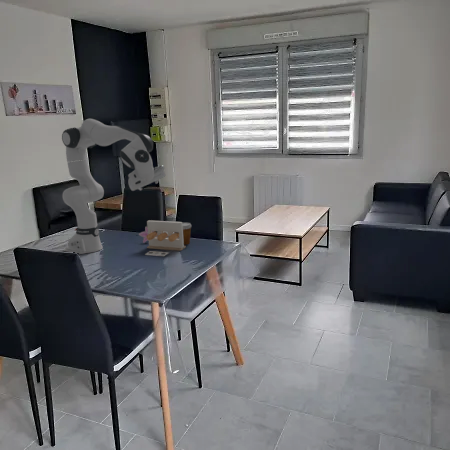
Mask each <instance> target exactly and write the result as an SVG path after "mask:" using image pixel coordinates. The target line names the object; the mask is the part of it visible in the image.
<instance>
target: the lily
mask: <svg viewBox="0 0 450 450" xmlns="http://www.w3.org/2000/svg"><path fill="white" fill-rule="evenodd" d="M144 229H145V230H144V231H141V232H139V233H138V236H139V237H142V238H143V240H142V243H143V244H145V243H146V242H147V241H148V242H149V240H148V239H147V238H146V236H147V235H148V227H147V226H145V228H144ZM152 232H154V231H152Z"/></svg>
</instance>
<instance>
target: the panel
mask: <svg viewBox="0 0 450 450" xmlns="http://www.w3.org/2000/svg"><path fill="white" fill-rule="evenodd" d="M182 223H183V222H182V221H170V220H169V221H167V220H165V221H164V220H150V219H149V220H147V221H146V227H148V234H150V233H152V231H155V232H156V233H157V236H158V235H160V234H162V233H163V232H166V233H167V234H168V237H169V236H170V235H172V234H174V233H177V232H179V238H177V239H176V240H174V241H173V242H170V241H169V240H168V237H167V238H165V239H164V240H162V241H159V240H158V239H157V237H155V238H153V239H152V240H149V241H148V246H147V247H146V248H147V249H152V250H153V249H155V250H165V251H178V252H179V251H181V252H182V251H183V250H184V249H185V248H187V247H186V245H184V240H183V224H182Z"/></svg>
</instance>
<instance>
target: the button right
mask: <svg viewBox="0 0 450 450" xmlns="http://www.w3.org/2000/svg"><path fill="white" fill-rule="evenodd" d="M173 233H174V234H172V235H170V236H169V237H167V238H168V240H169V241H170V242H173V241H174V240H176V239H179V238H178V237H179V235H178V233H177V232H173Z"/></svg>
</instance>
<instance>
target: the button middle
mask: <svg viewBox="0 0 450 450" xmlns="http://www.w3.org/2000/svg"><path fill="white" fill-rule="evenodd" d="M165 238H168V232H163V233H162V234H160V235H158V236H157V239H158V240H159V241H162V240H164V239H165Z"/></svg>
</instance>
